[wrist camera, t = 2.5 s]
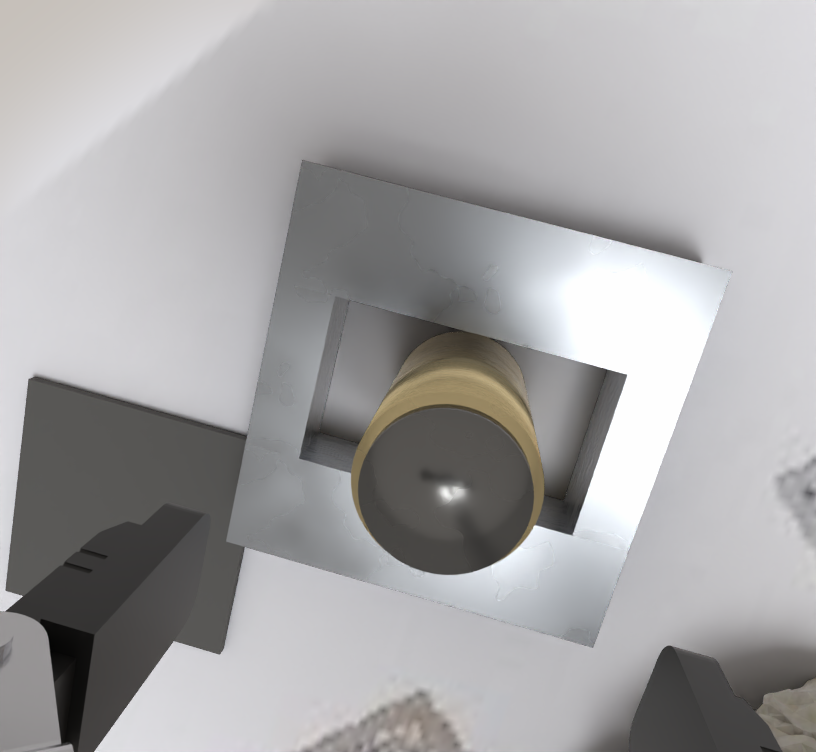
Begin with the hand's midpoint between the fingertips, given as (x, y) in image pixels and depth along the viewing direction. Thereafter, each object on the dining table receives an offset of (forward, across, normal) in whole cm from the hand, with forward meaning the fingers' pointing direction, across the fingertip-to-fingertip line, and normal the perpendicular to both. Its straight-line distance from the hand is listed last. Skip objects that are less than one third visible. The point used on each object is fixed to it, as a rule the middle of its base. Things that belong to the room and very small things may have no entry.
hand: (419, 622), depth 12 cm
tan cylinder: (+15, 0, 0) cm, 15 cm away
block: (+15, 0, 0) cm, 15 cm away
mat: (+15, +12, +9) cm, 21 cm away
